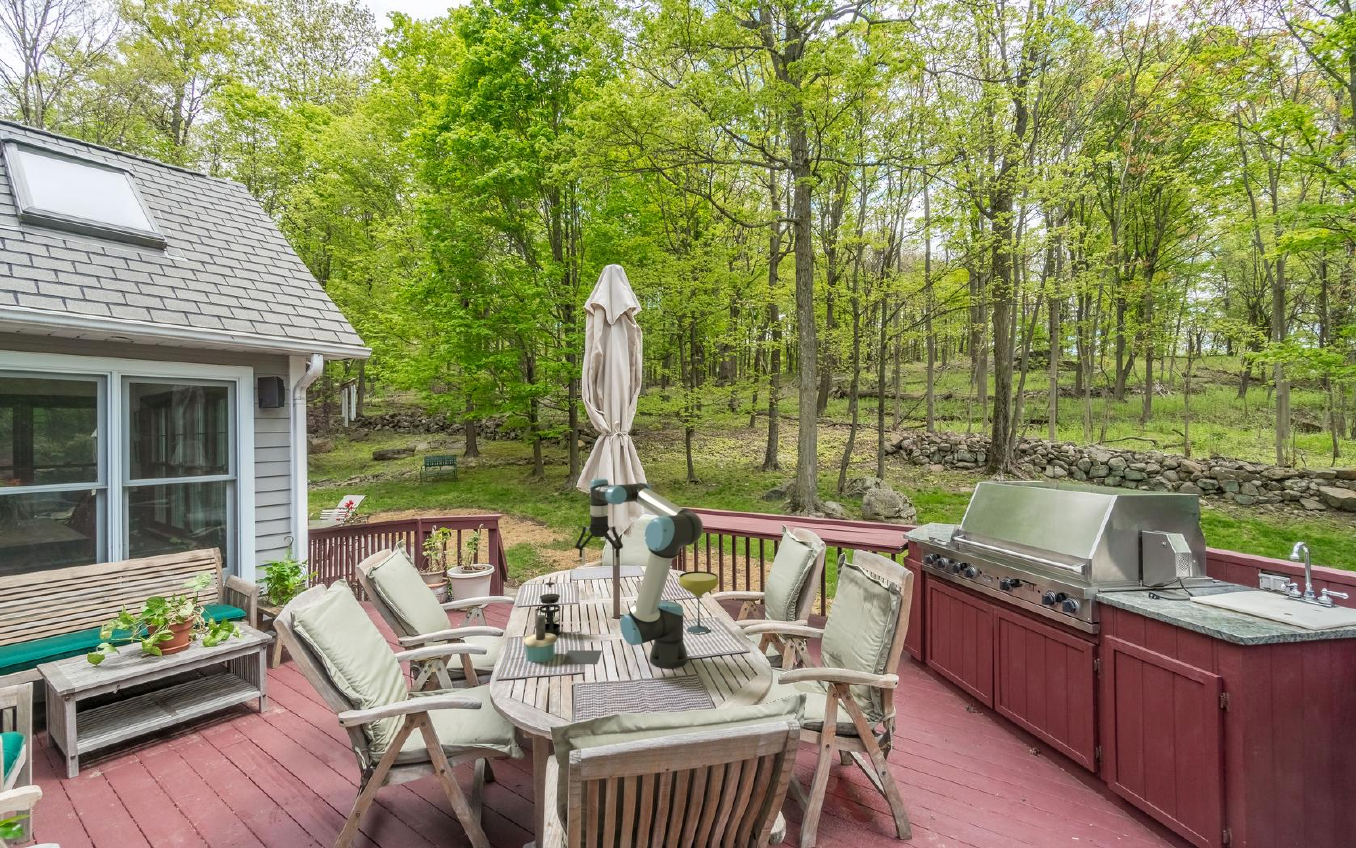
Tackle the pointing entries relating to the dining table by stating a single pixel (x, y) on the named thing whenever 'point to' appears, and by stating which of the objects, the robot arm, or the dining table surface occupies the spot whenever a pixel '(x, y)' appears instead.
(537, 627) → the lid
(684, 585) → the cocktail glass
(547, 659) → the bowl
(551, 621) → the french press
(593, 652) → the mat
